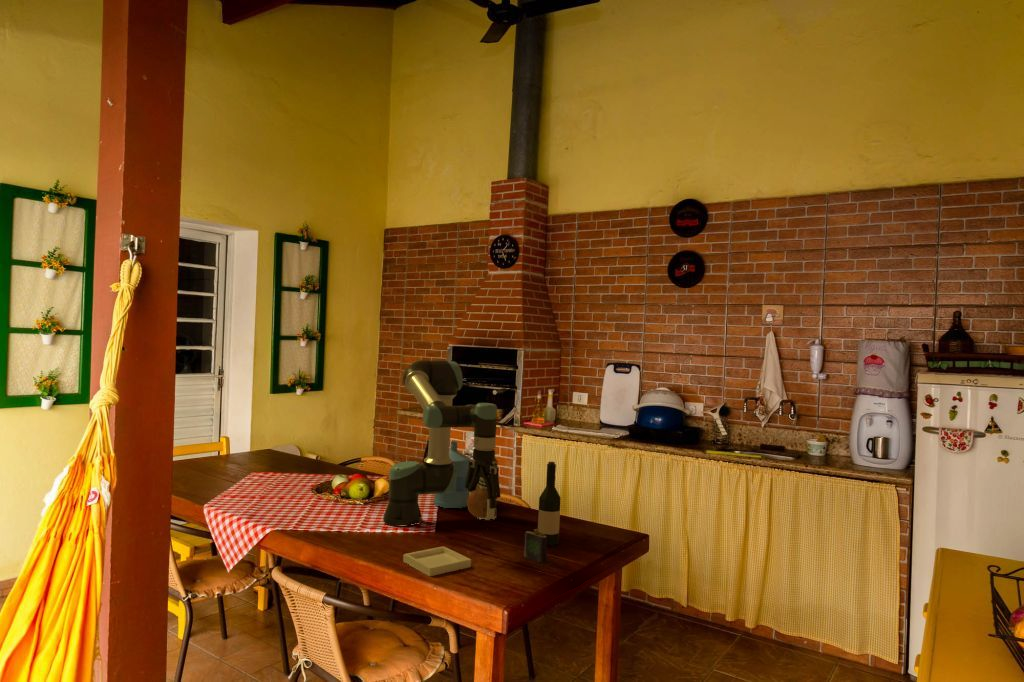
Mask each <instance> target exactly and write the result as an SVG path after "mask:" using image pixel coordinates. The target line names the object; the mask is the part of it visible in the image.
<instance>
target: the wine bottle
mask: <svg viewBox="0 0 1024 682" xmlns="http://www.w3.org/2000/svg"><path fill="white" fill-rule="evenodd" d="M556 470H557V464H556V461H548V463H547V464H546V479H545V480H546V483H545V488H544V490H543V491H542V493H541V494H540V496H539V498H538V516H537V517H538V519H537V520H538V521H537V529H539V530H538V531H539V532H540V534H542V535H543V534H544V536H546V537H547V545H554V546H557V545H556V544H558V545H559V543H558V542H560V540H559V539H560V520H561V519H560V517H561V500H562V499H561V495H560V494H559V491H558V490H557V488H556V472H557V471H556Z"/></svg>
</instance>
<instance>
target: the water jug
mask: <svg viewBox="0 0 1024 682" xmlns="http://www.w3.org/2000/svg"><path fill="white" fill-rule="evenodd" d="M458 443H459V441H457V440H456V441H455V440H450V448H449V457H450V459H451V460H452V464H454V465H455V466H456V470H457V471H456V472H457V479H456V483H455V486H454V488H453V489H452V491H450V492H448V493H442V494H439V493H438V494H434V498H433V504H434V505H435V504H436V505H438V506H440V507H443V508H442V509H446V508H459V509H464V508H466V507H468V505H467V501H468V496H469V491H468V489H467V488H465V483H466V478H467V474H468V469H469V462H470V461H471V458H470V456H467V455H466V454H464V453H462V452H460V451H458ZM436 505H435V506H436ZM440 507H439V508H440ZM463 507H464V508H463Z"/></svg>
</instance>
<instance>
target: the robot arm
mask: <svg viewBox="0 0 1024 682" xmlns="http://www.w3.org/2000/svg"><path fill="white" fill-rule="evenodd" d="M402 375H403V376H402V381H403V382H402V383H403V386H404V388H405V389H406V391H407V392H409V393H411V394H412V395H413V396H414V398H415V399H416V401H417V402H418V404H419V406H420V407H421V408H422V410H423V411H422V421H423V425H424V426H425V427H426V428H429V429H428V430H429V432H428V447H427V448H428V449H427V456H426V457H425V458H424V459H423V464H420V462H419V461H415V460H413V461H412V460H411V461H410V460H409V461H401V462H397V463H395V464H393V465H392V466H391V467H390V469H389V476H388V479H389V480H388V481H389V482H388V483H389V484H388V486H389V487H388V502H387V506H386V508H385V510H384V513H383V516H382V517H383V519H382V522H383V521H384V522H385V523H387V524H390V525H389V526H391V525H411V524H415V523H419V522H420V521H421V522H422V519H423V518H422V512H421V508H420V505H419V495H433V494H438V493H439V494H442V493H448V492H450V491H452V489H453V488H454V486H455V483H456V479H457V472H456V471H457V470H456V466H455V465H454V464H452V460H451V459H450V457H449V451H450V445H451V431H452V430H451V429H452V428H473V449H472V461H470V462H469V469H468V474H467V478H466V483H465V488H467V489H468V491H469V495H470V494H471V493H472V492H473V491H474V490H476V489H477V486H478V485H479V484H478V482H479V480H480V477H481V476H482V477H483V479H484V480H485V483H486V487H487V491H488V495H489V498H488V499H487V518H492V517H494V511H495V505H496V504H497V503H496V501H497V499H498V498H501V489H500V478H499V476H498V474H499V470H500V469H499V467H497V468H494V467H493V465H492V462H493V461H494V460H495V458H496V450H495V449H496V444H497V437H496V436H497V424H498V423H497V421H498V406H497V404H494V403H490V402H477V404H467V405H453V399H454V398H455V397H456V396H457V394H458V393H457V392H458V391H459V390H461V389H462V387H463V379H464V378H463V371H462V369H461V366H460V364H458V363H457V362H456V361H453V360H426V359H425V360H417V361H414V362H413V363H411V364H410V365H409V366H407V368H406V369H405V370H404V372H403V374H402ZM468 497H469V496H468ZM384 522H383V523H384ZM385 523H384V524H385ZM387 524H386V525H387Z"/></svg>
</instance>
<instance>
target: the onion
mask: <svg viewBox="0 0 1024 682" xmlns="http://www.w3.org/2000/svg"><path fill="white" fill-rule="evenodd" d="M488 498H489V495H488V491H487V489H486V488H479V489H478V488H476V490H474V491H473V492H472V493H471V494H470V495H469V497H468V501H467V505H468V506H467V509H468V512H469V514H470V515H472V516H473V517H475V518H476V517H477V518H476V519H478V518H485V517H487V499H488Z"/></svg>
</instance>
